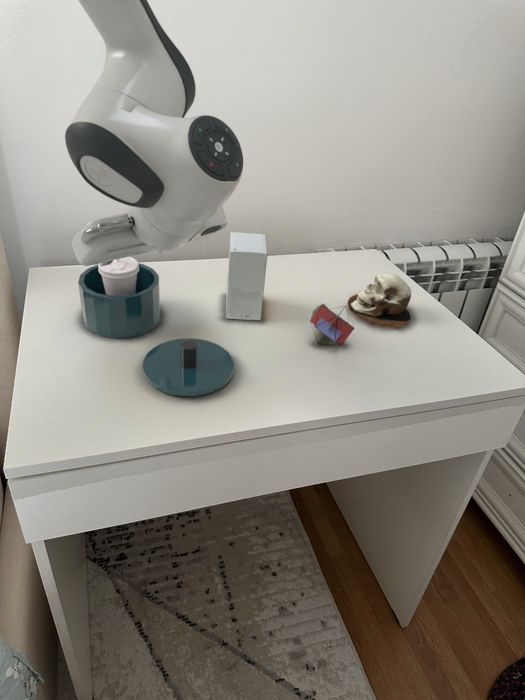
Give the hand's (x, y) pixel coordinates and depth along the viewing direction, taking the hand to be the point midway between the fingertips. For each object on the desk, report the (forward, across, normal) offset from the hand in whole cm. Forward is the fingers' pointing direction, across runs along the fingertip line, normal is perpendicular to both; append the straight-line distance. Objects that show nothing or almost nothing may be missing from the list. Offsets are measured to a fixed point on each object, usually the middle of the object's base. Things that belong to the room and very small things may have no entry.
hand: (132, 254), depth 80 cm
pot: (+14, 0, -6) cm, 15 cm away
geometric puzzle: (-3, +26, -23) cm, 35 cm away
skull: (-2, +41, -22) cm, 47 cm away
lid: (+1, +2, -19) cm, 19 cm away
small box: (+8, +20, -12) cm, 25 cm away
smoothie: (+14, 0, -6) cm, 15 cm away
